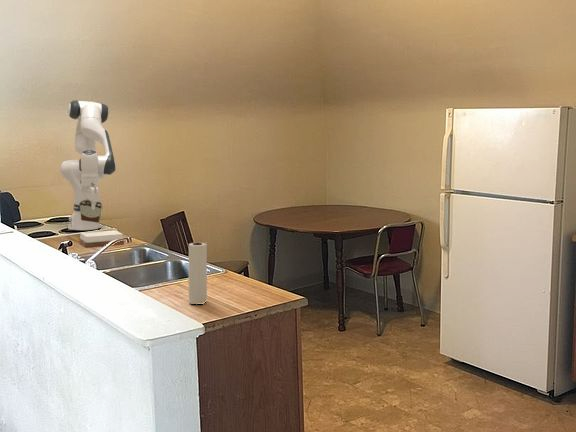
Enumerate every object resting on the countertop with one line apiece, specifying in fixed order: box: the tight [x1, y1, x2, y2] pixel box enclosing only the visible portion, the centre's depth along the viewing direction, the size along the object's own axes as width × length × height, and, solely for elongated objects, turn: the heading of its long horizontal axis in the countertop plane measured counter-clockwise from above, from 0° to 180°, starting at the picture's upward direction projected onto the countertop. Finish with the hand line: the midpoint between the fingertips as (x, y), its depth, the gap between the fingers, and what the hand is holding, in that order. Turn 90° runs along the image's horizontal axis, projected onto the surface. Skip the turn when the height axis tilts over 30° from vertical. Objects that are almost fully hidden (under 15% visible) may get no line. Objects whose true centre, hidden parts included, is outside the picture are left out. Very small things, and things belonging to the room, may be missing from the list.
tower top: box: [79, 229, 124, 243], centre depth 336 cm, size 12×18×3 cm, turn 121°
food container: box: [79, 200, 103, 224], centre depth 349 cm, size 12×6×10 cm, turn 89°
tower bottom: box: [78, 238, 125, 249], centre depth 337 cm, size 13×19×3 cm
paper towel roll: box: [188, 242, 208, 305], centre depth 233 cm, size 7×6×21 cm
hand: (91, 208), depth 347 cm, fingers closed on food container, 6 cm apart
